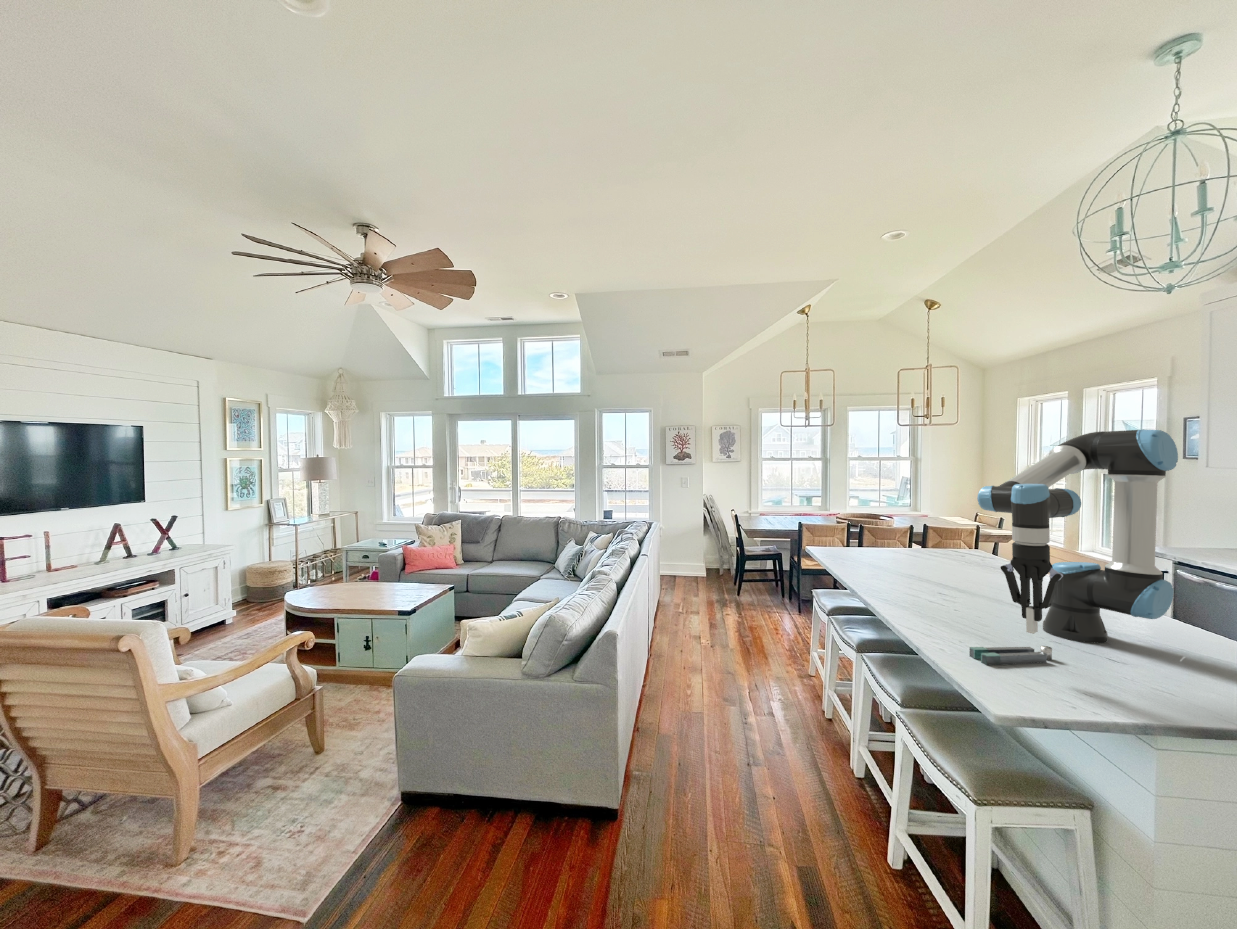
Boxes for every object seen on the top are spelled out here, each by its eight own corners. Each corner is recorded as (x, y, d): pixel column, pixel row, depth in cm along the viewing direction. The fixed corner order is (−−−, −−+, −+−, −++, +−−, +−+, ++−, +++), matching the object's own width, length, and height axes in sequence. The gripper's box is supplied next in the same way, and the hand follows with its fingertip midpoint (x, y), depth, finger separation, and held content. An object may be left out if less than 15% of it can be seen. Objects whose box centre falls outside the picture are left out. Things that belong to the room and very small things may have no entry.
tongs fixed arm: (1042, 654, 139) (1042, 643, 139) (1054, 660, 135) (1054, 649, 135) (969, 656, 139) (969, 645, 139) (979, 661, 135) (979, 650, 135)
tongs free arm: (1040, 660, 136) (1040, 650, 136) (1046, 662, 134) (1046, 653, 134) (981, 662, 134) (981, 653, 134) (986, 665, 132) (986, 655, 132)
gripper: (1068, 544, 123) (1069, 636, 124) (1006, 537, 134) (1008, 621, 135) (1057, 548, 119) (1058, 643, 120) (994, 541, 131) (996, 627, 131)
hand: (1032, 631), depth 128 cm, fingers closed
